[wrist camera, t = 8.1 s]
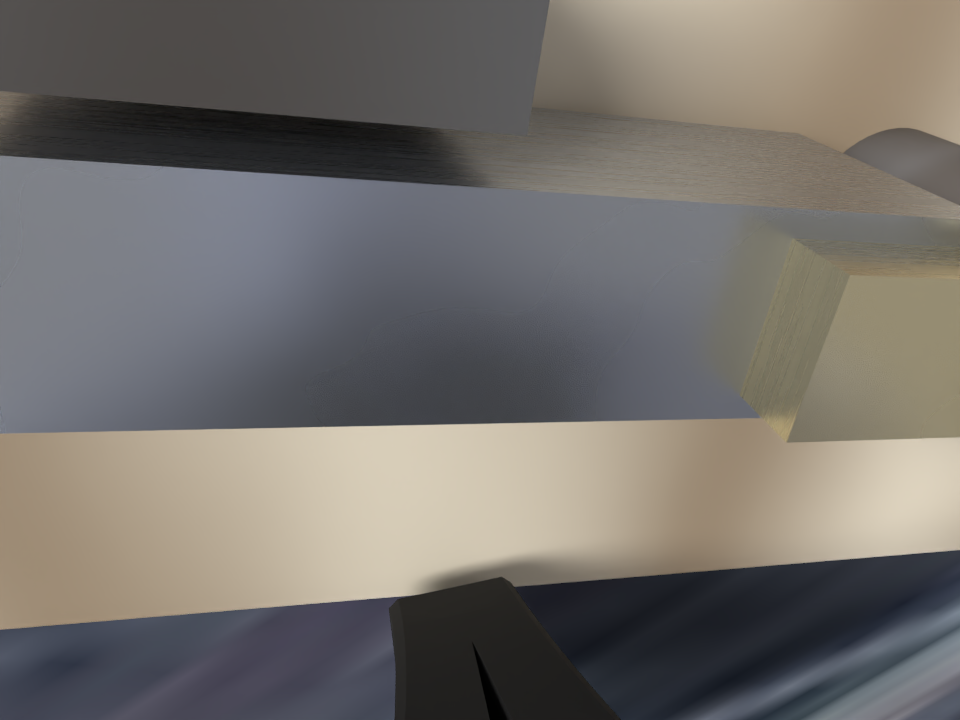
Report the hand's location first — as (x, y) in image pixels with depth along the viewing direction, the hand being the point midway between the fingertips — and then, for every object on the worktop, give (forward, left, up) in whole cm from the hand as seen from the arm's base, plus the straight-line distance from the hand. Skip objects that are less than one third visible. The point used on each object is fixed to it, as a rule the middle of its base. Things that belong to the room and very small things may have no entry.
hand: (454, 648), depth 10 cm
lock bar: (0, -5, 0) cm, 5 cm away
